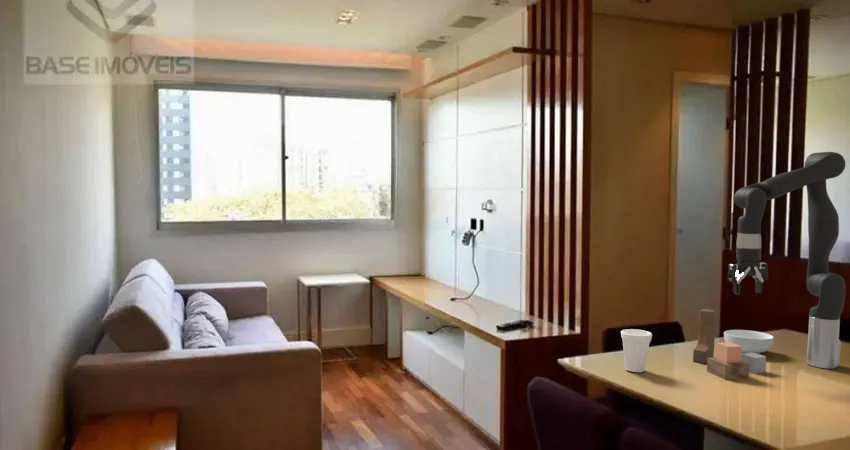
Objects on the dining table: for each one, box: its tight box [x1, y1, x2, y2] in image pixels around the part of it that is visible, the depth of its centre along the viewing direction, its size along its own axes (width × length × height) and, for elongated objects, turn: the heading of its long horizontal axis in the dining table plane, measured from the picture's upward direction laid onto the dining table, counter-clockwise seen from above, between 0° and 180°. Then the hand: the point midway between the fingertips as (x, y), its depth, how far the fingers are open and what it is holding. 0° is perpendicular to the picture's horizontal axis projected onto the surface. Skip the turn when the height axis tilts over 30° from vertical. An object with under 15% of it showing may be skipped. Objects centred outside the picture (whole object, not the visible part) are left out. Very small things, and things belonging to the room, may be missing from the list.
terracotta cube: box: [715, 341, 742, 363], centre depth 215 cm, size 6×6×6 cm
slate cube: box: [741, 352, 767, 375], centre depth 221 cm, size 6×6×6 cm
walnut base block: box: [706, 356, 750, 380], centre depth 216 cm, size 9×9×5 cm
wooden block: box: [692, 308, 717, 365], centre depth 232 cm, size 9×4×18 cm, turn 139°
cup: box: [620, 328, 653, 373], centre depth 218 cm, size 10×10×13 cm
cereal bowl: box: [723, 329, 775, 355], centre depth 246 cm, size 17×17×7 cm
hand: (747, 293), depth 222 cm, fingers open, 8 cm apart
